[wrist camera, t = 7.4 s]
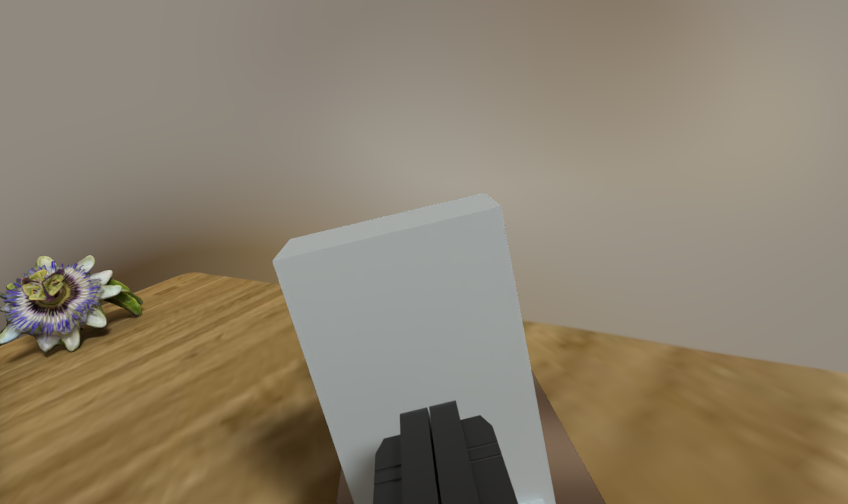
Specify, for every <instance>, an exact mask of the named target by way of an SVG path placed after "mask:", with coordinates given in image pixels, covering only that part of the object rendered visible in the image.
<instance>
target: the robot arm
mask: <svg viewBox="0 0 848 504" xmlns="http://www.w3.org/2000/svg"><path fill="white" fill-rule="evenodd" d="M429 411H430V415H429ZM429 411H428V408H427V407H426V408H421V409H417V410H413V411H409V412H405V413H401V414H400V435H396V436H392V437H388V438H384V439H383V441H382V443H381V445H380V446H379V448H378V450H377V452H376V454H375V469H374V471H375V474H374V491H373V504H518V501H517V498H516V495H515V492H514V489H513V486H512V483H511V480H510V477H509V474H508V471H507V468H506V465H505V462H504V459H503V456H502V453H501V450H500V447H499V444H498V441H497V438H496V435H495V432H494V429H493V426H492V425H491V424H490V423H489V422H487V421H486V420H485V419H484V418H483V417H482V416H481V415H479V416H474V417H470V418H466V419H462V420H460V416H459V411H458V407H457V403H456V400H454V401H450V402H446V403H442V404H438V405H433V406H429Z"/></svg>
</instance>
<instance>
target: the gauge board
mask: <svg viewBox="0 0 848 504" xmlns="http://www.w3.org/2000/svg"><path fill="white" fill-rule="evenodd" d="M531 372H532V377H533V383H534V388H535V393H536V399H537V404H538V410H539V415H540V421H541V426H542V431H543V437H544V442H545V448H546V453H547V459H548V464H549V470H550V475H551V480H552V486H553V491H554V497H555V502H556V504H606V503H605V501H604V499H603V498H602V496H601V494H600V492H599V490H598V489H597V487H596V485H595V483H594V481H593V480H592V478H591V476H590V474H589V472H588V471H587V469H586V467H585V465H584V463H583V462H582V460H581V458H580V456H579V454H578V453H577V451H576V449H575V447H574V445H573V444H572V442H571V440H570V438H569V436H568V435H567V433H566V431H565V429H564V427H563V426H562V424H561V422H560V420H559V418H558V417H557V415H556V413H555V411H554V409H553V408H552V406H551V404H550V402H549V400H548V398H547V397H546V395H545V393H544V391H543V389H542V388H541V386H540V384H539V382H538V380H537V379H536V377H535V375H534V373H533V371H532V370H531ZM336 504H354V502H353V499H352V496H351V493H350V490H349V487H348V484H347V481H346V478H345V475H344V472H343V469H342V466H341V473H340V480H339V487H338V494H337V501H336Z"/></svg>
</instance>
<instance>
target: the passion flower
mask: <svg viewBox="0 0 848 504" xmlns="http://www.w3.org/2000/svg"><path fill="white" fill-rule="evenodd" d="M94 263H95V260H94V257H93V256H87V257H86V258H84V259H83V260H81V261H79V262H77V263H75V264H74V265H73V266H72V265H71V266H70V267H69V265H68V267H66V268H65V269H63V264H62V265H61V268H60V269H59V267H57V265H56V263H55V261H53V260H52V259H51V258H50V257H47V256H42V255H41V256H40V257H39V258H38V259H37V261H36V266H35V268H31V269H30V270H29V272H28V273H27V274H25V273H24V278H23V279H17V282H16V283H12V284H9V285H7V286H6V288H7V289H8V290H7V291H6V293H8V295H6V294H4V293H1V292H0V297H1V298H3V299H5V300H4V303H7V302H8V304H6V305H5V306H2V307H0V311H1V312H7V313H8V314H6V315H5V317H6V321H7V326H6V327H5V328H4V329H3V330H2V331H1V332H0V346H1V345H3V344H6V343H9V342H12V341H13V340H14V339H16V338H18V337H19V336H20V335H22V334H24V333H25V334H29V335H32V336H34V337H35V338H36V340H37V344H38V346H39V348H40V349H41V351H42V352H44V353H47V352H48V351H50V350H52V349H53V348H54V347H55V346H57V345H63V346H65V347H66V349H67V350H68V351H70V352H73V351H75V350H77V349H78V348H79V345H80V341H81V336H80V330H82V328H81V327H82V326H83V325H85V326H91V327H93V328H105V327H106V325H107V317H106V315H105V314H104V312H103V311H102V308H101V302H102V300H104V301H107V302H110V303H113V304H115V305H118V306H120V307H122V308H125V309H126V310H128V311H129V312H131V313H133V314H134V315H136V316H141V314H142V309H141V305H142V304H143V301H142V299H141V298H140V297H138V296H136V295H135V294H133V293H131V292H130V290H129V288H128V287H127V286H125V285H124V284H121V283H120V282H118V281H115V280H113V279H111V276H112V274H113V273H112V271H111V270H108V271H103V272H99V273H96V274H90V273H89V272H90V271H91V269H92V267H93V265H94Z"/></svg>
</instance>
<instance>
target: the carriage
mask: <svg viewBox="0 0 848 504" xmlns="http://www.w3.org/2000/svg"><path fill="white" fill-rule="evenodd" d="M273 265H274V268H275V271H276V273H277V277H278V280H279V282H280V285H281V288H282V291H283V294H284V297H285V300H286V303H287V306H288V309H289V312H290V315H291V318H292V321H293V324H294V327H295V330H296V333H297V336H298V339H299V342H300V345H301V348H302V351H303V354H304V357H305V360H306V363H307V365H308V368H309V371H310V374H311V377H312V380H313V383H314V386H315V389H316V392H317V395H318V398H319V401H320V404H321V407H322V410H323V413H324V416H325V419H326V422H327V425H328V428H329V431H330V434H331V437H332V440H333V443H334V446H335V448H336V451H337V454H338V457H339V460H340V463H341V466H342V469H343V472H344V475H345V478H346V481H347V484H348V487H349V490H350V493H351V496H352V499H353V502H354V504H373V491H374V474H375V471H374V469H375V454H376V452H377V450H378V448H379V446H380V445H381V443H382V441H383V439H384V438H388V437H392V436H396V435H400V414H401V413H405V412H409V411H413V410H417V409H421V408H426V407H427V408H428V411H429V406H433V405H438V404H442V403H446V402H450V401H454V400H456V403H457V407H458V411H459V416H460V420H462V419H466V418H470V417H474V416H479V415H481V416H482V417H483V418H484V419H485V420H486V421H487V422H489V423H490V424H491V425H492V426H493V429H494V432H495V435H496V438H497V441H498V444H499V447H500V450H501V453H502V456H503V459H504V462H505V465H506V468H507V471H508V474H509V477H510V480H511V483H512V486H513V489H514V492H515V495H516V498H517V501H518V504H556V502H555V497H554V491H553V486H552V480H551V475H550V470H549V464H548V459H547V453H546V448H545V442H544V437H543V431H542V426H541V421H540V415H539V410H538V404H537V399H536V393H535V388H534V383H533V377H532V372H531V366H530V361H529V355H528V350H527V344H526V339H525V334H524V328H523V323H522V317H521V312H520V307H519V301H518V296H517V290H516V285H515V279H514V274H513V269H512V263H511V257H510V252H509V247H508V241H507V236H506V230H505V225H504V219H503V214H502V209H501V206H500V205H499V204H498V203H496V202H495V201H494V200H493V199H491V198H490V197H489V196H488V195H487V194H485V193H482V194H477V195H473V196H469V197H465V198H460V199H456V200H452V201H448V202H444V203H439V204H435V205H431V206H427V207H423V208H418V209H414V210H410V211H406V212H402V213H398V214H393V215H389V216H385V217H381V218H377V219H372V220H368V221H364V222H360V223H356V224H352V225H347V226H343V227H339V228H335V229H331V230H327V231H323V232H319V233H314V234H310V235H306V236H302V237H297V238H293V239H290V240H289V241H288V243H287V244H286V245H285V246H284V247H283V249H282V250H281V251H280V252H279V253H278V255H277V256H276V257H275V258H274V259H273ZM429 415H430V411H429Z"/></svg>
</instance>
